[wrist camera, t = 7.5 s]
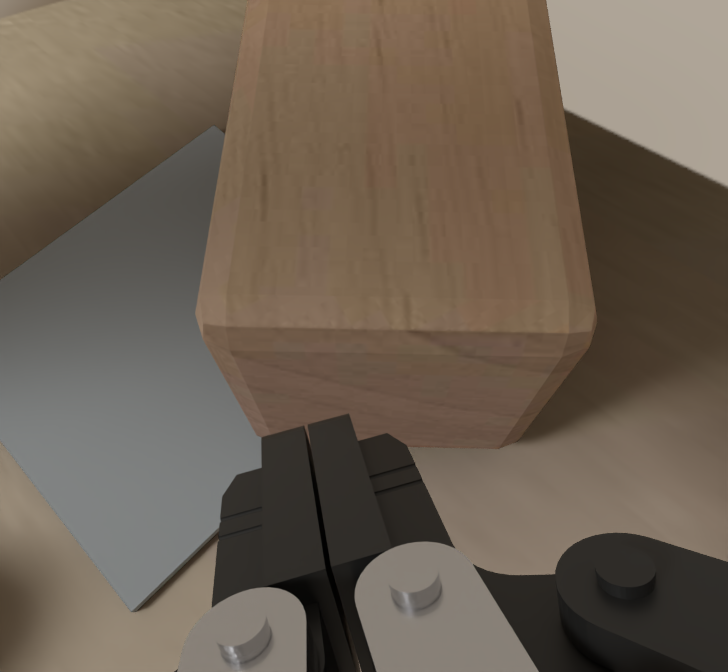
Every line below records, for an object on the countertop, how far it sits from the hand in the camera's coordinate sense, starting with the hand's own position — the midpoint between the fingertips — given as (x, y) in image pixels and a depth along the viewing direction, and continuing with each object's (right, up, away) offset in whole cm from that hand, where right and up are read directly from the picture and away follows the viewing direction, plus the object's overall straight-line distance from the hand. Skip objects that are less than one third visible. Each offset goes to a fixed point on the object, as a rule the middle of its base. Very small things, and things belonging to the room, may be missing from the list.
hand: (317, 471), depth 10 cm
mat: (-7, +3, +16) cm, 17 cm away
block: (+2, 0, +8) cm, 8 cm away
